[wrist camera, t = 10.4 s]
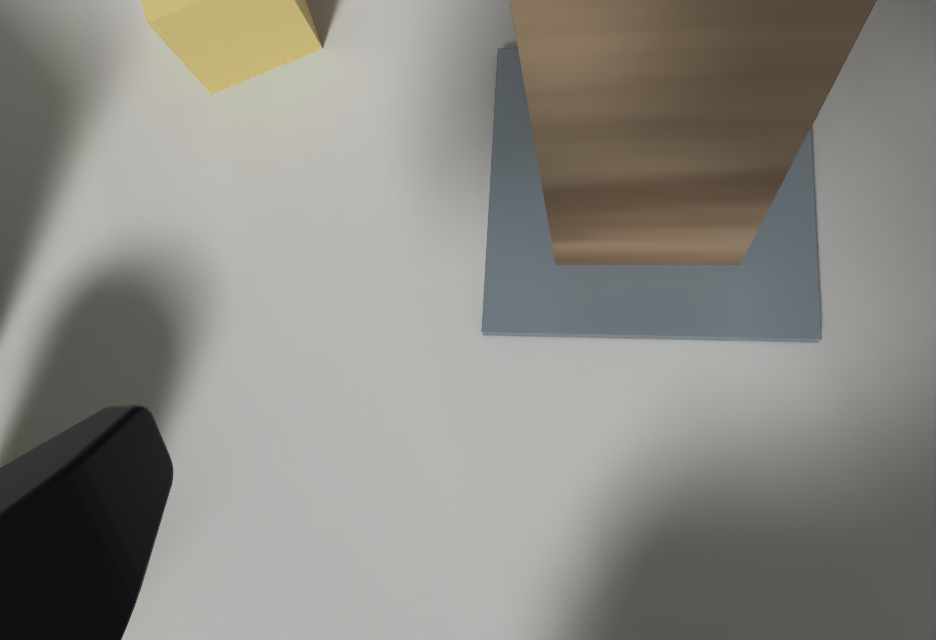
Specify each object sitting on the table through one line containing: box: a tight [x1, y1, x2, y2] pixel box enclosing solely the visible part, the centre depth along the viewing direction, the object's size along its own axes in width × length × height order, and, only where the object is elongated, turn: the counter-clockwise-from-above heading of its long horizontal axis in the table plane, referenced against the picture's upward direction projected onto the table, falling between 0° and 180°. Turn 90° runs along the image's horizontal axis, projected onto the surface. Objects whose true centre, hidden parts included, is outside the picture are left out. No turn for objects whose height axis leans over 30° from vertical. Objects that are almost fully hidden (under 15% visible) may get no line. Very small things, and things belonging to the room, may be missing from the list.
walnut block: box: [510, 0, 876, 265], centre depth 17 cm, size 5×5×12 cm
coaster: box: [482, 48, 822, 342], centre depth 23 cm, size 9×9×1 cm
